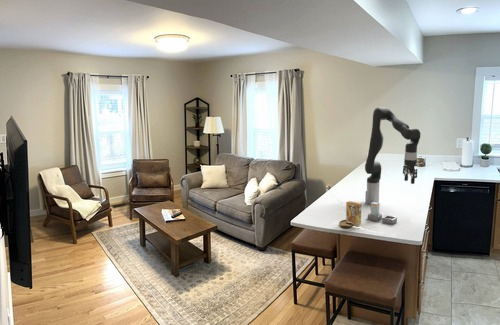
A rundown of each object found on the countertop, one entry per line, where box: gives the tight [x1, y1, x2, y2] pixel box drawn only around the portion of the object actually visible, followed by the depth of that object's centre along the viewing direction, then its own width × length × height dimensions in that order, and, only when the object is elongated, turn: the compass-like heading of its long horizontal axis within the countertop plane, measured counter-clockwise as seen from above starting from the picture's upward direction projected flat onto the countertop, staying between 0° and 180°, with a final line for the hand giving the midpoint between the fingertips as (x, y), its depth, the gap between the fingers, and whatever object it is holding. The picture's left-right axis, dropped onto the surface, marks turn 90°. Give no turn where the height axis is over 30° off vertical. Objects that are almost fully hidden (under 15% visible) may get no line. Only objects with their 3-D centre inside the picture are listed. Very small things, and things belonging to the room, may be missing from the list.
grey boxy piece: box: [365, 212, 399, 226], centre depth 230 cm, size 18×12×4 cm, turn 47°
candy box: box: [345, 200, 362, 228], centre depth 225 cm, size 9×4×15 cm, turn 50°
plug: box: [370, 202, 380, 216], centre depth 232 cm, size 4×4×11 cm
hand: (409, 182), depth 233 cm, fingers open, 8 cm apart
